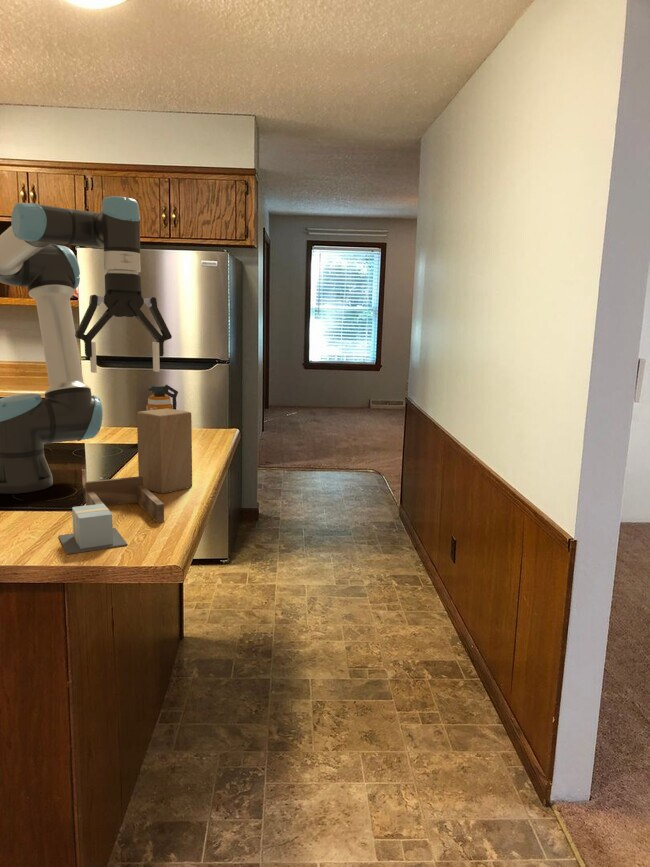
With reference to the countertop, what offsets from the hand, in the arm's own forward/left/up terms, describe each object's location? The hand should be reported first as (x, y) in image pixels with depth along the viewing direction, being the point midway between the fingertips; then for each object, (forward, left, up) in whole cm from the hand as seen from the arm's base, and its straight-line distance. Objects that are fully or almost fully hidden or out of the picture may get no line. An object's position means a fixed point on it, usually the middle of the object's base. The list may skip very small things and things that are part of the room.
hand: (125, 371), depth 141 cm
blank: (+18, -11, -31) cm, 38 cm away
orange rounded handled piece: (-81, +31, -32) cm, 92 cm away
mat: (+18, -11, -32) cm, 38 cm away
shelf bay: (+3, -2, -32) cm, 32 cm away
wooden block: (-16, +13, -32) cm, 38 cm away
